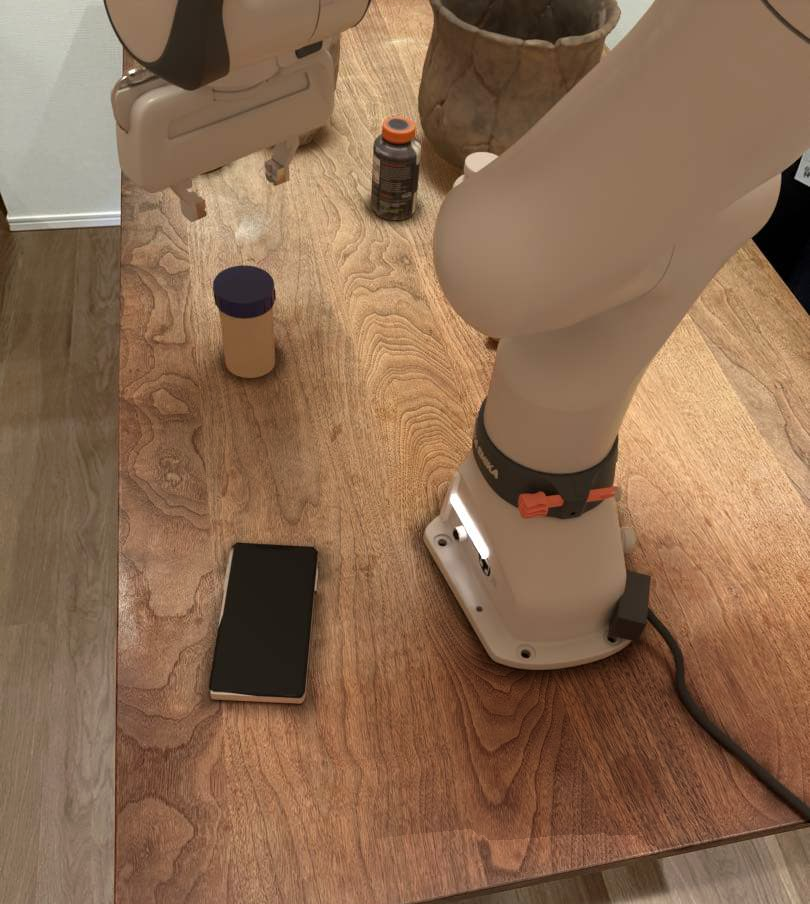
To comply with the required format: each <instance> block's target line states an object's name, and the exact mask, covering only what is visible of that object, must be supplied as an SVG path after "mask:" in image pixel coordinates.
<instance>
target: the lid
mask: <svg viewBox="0 0 810 904" xmlns="http://www.w3.org/2000/svg"><path fill="white" fill-rule="evenodd" d="M212 292H213V299H214V305H215V306H216V307H217V309H218V311H219V310H220V311H221V312H223V313H224V314H226V315H228V316H231V317H234V318H242V319H247V318H255V317H258V316H261V315H263V314H265V313H267V312H268V311H269V310H270V309H271V308H272V307H273V308H274V305H275V303H276V300H277V297H276V288H275V281H274V278H273V277H272V275H271V274H270V273H269V272H268V271H266V270H265V269H263V268H261V267H258V266H254V265H246V264H245V265H243V264H242V265H234V266H229V267H227V268H225V269H223V270H222V271H220V272H219V273H217V275H215V277H214V279H213V281H212Z"/></svg>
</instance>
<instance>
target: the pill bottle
mask: <svg viewBox="0 0 810 904" xmlns="http://www.w3.org/2000/svg"><path fill="white" fill-rule="evenodd" d="M421 145H422V144H421V143H420V141H419V140H418V138H416V123H415V122H414V121H413V120H412V119H410V118H408V117H405V116H398V115H397V116H395V115H394V116H389V117H386V118H385V119H384V120H383V122H382V127H381V134H379V135H378V136H377V137H376V138H375V139H374V141H373V146H372V147H373V148H372V170H371V187H370V190H371V191H370V208H371V210H372V211H373V213H374V214H376V215H377V216H379V217H381V218H382V219H386V220H392V221H399V220H400V221H401V220H404V219H407V218H410V217H411V216H413V215H414V213H415V212H416V209H417V201H418V200H417V199H418V190H419V180H420V179H419V178H420V177H419V176H420V169H421V156H422V146H421Z"/></svg>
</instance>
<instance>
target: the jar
mask: <svg viewBox="0 0 810 904" xmlns="http://www.w3.org/2000/svg"><path fill="white" fill-rule="evenodd" d="M273 308H274V306H273V307H272V308H271V309H270V310H269V311H268V312H267V313H265V314H263V315H261V316H258V317H255V318H247V319H242V318H234V317H231V316H228V315H226V314H224V313H223V312H221V311H220V310H219V309H218V313H219V315H218V316H219V323H220V332H221V339H222V347H223V348H222V349H223V356H224V364H225V367H226V368H227V371H229V372H230V373H231V374H232V375H234V376H236V377H239V378H245V379H256V378H260V377H263V376H265V375H267V374H269V373H270V372H271V371H272V370H273V369H274V367H275V365H276V346H275V343H276V342H275V327H274V325H275V324H274V309H273Z"/></svg>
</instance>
